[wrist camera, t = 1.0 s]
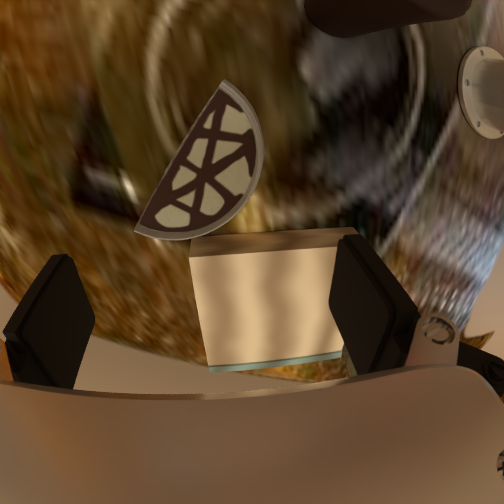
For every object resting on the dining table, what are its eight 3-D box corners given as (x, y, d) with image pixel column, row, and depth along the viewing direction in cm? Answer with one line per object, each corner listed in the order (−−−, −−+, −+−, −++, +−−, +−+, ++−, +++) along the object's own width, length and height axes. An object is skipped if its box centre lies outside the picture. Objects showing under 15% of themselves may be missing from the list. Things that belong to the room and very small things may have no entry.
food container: (207, 217, 31) (205, 273, 22) (155, 188, 29) (130, 236, 20) (277, 116, 26) (307, 132, 18) (222, 80, 24) (224, 77, 15)
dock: (352, 226, 33) (368, 245, 30) (332, 336, 43) (340, 357, 39) (191, 237, 32) (188, 259, 28) (209, 349, 41) (209, 373, 38)
